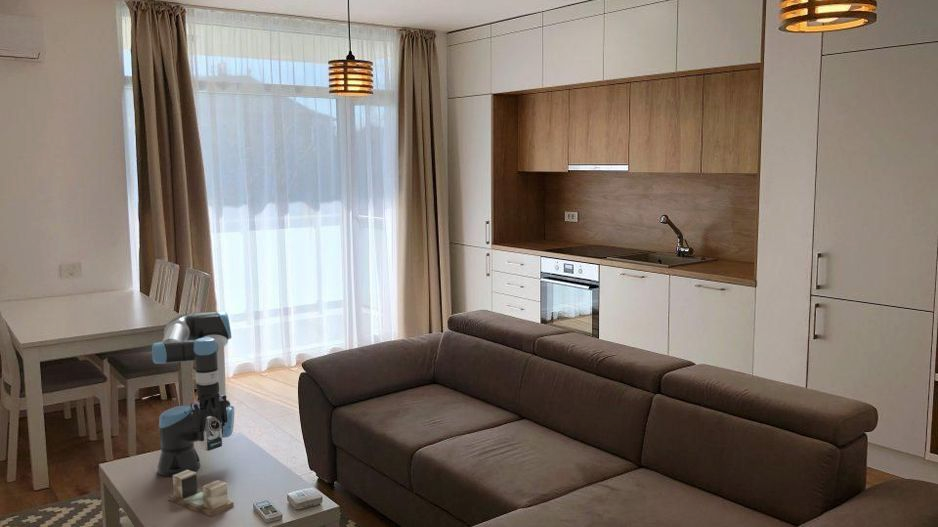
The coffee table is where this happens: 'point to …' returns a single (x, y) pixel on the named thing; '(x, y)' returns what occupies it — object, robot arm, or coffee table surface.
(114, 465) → the coffee table surface
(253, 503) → the coffee table surface
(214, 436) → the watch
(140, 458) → the coffee table surface
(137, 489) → the coffee table surface
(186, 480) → the rail
